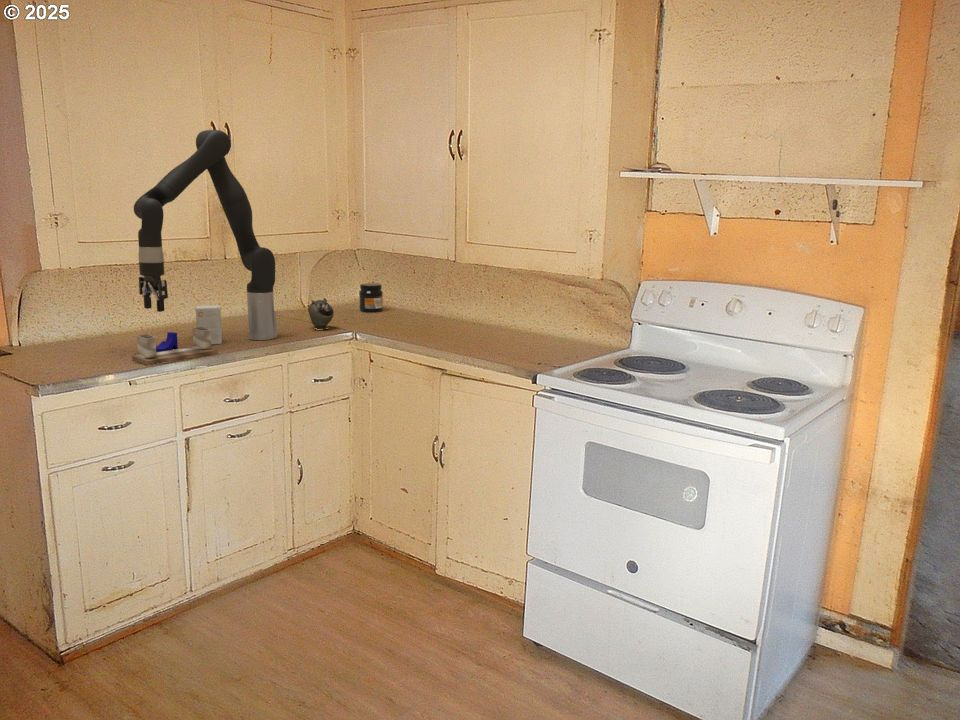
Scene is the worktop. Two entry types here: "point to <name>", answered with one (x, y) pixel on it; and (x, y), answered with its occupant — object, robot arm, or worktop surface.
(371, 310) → the supplement container
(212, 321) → the small box
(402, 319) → the worktop surface
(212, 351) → the rail board
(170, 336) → the blue curved piece
